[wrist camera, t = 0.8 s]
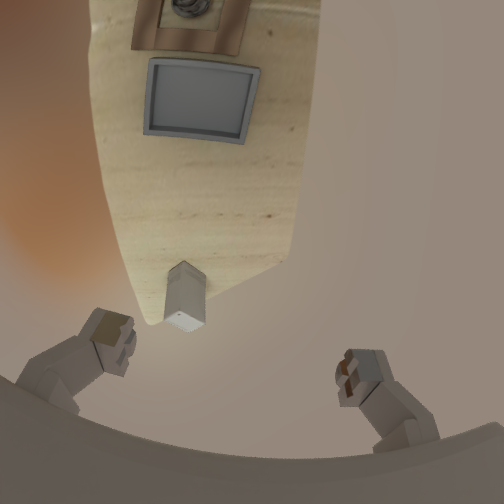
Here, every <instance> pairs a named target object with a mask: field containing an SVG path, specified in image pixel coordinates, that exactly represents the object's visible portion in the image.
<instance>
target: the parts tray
mask: <svg viewBox="0 0 504 504" xmlns="http://www.w3.org/2000/svg"><path fill="white" fill-rule="evenodd" d="M260 72H261V69H260V68H258V67H253V66H247V65H241V64H234V63H227V62H219V61H211V60H201V59H188V58H170V57H153V58H150V59H149V64H148V73H147V83H146V95H145V109H144V127H143V135H153V136H168V137H181V138H192V139H201V140H210V141H219V142H226V143H234V144H241V145H244V143H245V138H246V133H247V129H248V124H249V120H250V115H251V111H252V106H253V102H254V97H255V93H256V89H257V84H258V80H259V76H260Z"/></svg>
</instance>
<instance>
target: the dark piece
mask: <svg viewBox="0 0 504 504" xmlns="http://www.w3.org/2000/svg"><path fill="white" fill-rule="evenodd" d="M209 2H210V0H172V1H171V6H172V9H173V10H174V12H175V13H177V14H178V15H180V16H183V17H196V16H199V15H201V14H203V13H204V12H205V11H206V10H207V8H208V6H209Z"/></svg>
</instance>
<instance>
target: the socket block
mask: <svg viewBox="0 0 504 504" xmlns="http://www.w3.org/2000/svg"><path fill="white" fill-rule="evenodd" d="M250 1H251V0H224V4H223V9H222V13H221V17H220V22H219V26H218V31H209V30H197V29H179V28H159V24H160V18H161V13H162V8H163V3H164V0H139V1H138V6H137V12H136V18H135V24H134V30H133V37H132V45H131V50H184V51H198V52H209V53H218V54H226V55H233V56H238V51H239V47H240V42H241V38H242V34H243V29H244V25H245V21H246V17H247V13H248V9H249V5H250Z"/></svg>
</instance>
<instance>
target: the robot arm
mask: <svg viewBox="0 0 504 504" xmlns="http://www.w3.org/2000/svg"><path fill="white" fill-rule="evenodd" d="M133 326H134V320H133V318H132V317H130V316H126V315H123V314H119V313H116V312H112V311H108V310H104V309H101V308H96V309H95V310H94V311H93V312H92V314H91V315H90V317H89V318H88V320H87V322H86V323H85V325H84V327H83V328H82V330H81V331H80V333H79V335H78V336H72V337H71V338H69V339H67V340H65V341H63V342H61V343H59V344H57V345H56V346H54V347H52V348H50V349H48V350H46V351H44V352H42V353H41V354H39V355H37V356H35V357H33V358H31V359H29V361H28V363H27V364H26V366H25V368H24V369H23V371H22V373H21V374H20V376H19V378H18V379H17V381H16V383H15V384H14V383H12V382H11V381H9V380H7V379H6V378H4V377H3V376H1V375H0V504H504V427H503V426H502V425H500V424H499V423H497V422H490V423H487V424H485V425H482V426H480V427H477V428H475V429H472V430H469V431H466V432H463V433H460V434H457V435H454V436H450V437H447V438H444V439H440V436H439V432H438V429H437V426H436V423H435V420H434V417H433V414H432V413H431V412H429V411H428V410H427V409H426V408H425V407H424V406H423V405H422V404H421V403H420V402H419V401H418V400H417V399H416V398H415V397H414V396H413V395H412V394H411V393H409V392H408V391H407V390H406V389H405V388H404V387H403V386H402V385H401V384H400V383H399V382H397V381H394V377H393V375H392V372H391V369H390V366H389V363H388V360H387V357H386V355H385V352H384V351H383V350H369V349H367V350H366V349H348V350H347V351H346V353H345V354H344V356H345V359H344V360H342V361H341V362H340V363H339V364H338V366H337V369H336V374H335V379H336V384H337V385H338V386H339V387H340V388H341V389H340V391H339V392H338V396H339V402H340V407H359V409H360V410H361V411H362V412H363V414H364V415H365V417H366V418H367V419H368V421H369V422H370V423H371V424H372V426H373V427H374V428H375V430H376V431H377V432H378V434H379V435H380V436H381V437H382V440H381V441H379V442H378V443H377V444H376V445H374V447H373V454H366V455H357V456H348V457H336V458H335V457H334V458H314V459H277V458H257V457H245V456H235V455H226V454H218V453H211V452H205V451H198V450H193V449H188V448H182V447H177V446H173V445H169V444H164V443H160V442H156V441H152V440H148V439H145V438H141V437H138V436H134V435H131V434H127V433H124V432H121V431H118V430H115V429H112V428H109V427H106V426H103V425H101V424H98V423H95V422H93V421H90V420H87V419H85V418H82V417H80V416H78V413H79V411H80V409H79V406H78V405H77V403H76V402H75V401H74V399H73V396H75V395H76V394H77V393H78V392H80V391H81V390H82V389H84V388H85V387H86V386H87V385H89V384H90V383H91V382H93V381H94V380H95V379H97V378H98V377H99V376H100V375H102V374H103V373H104V372H107V373H111V374H114V375H118V376H122V377H124V374H125V372H126V370H127V367H128V365H129V362H128V357H130V356H132V355H133V353H134V350H135V346H136V332H135V331H134V330H133Z"/></svg>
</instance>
